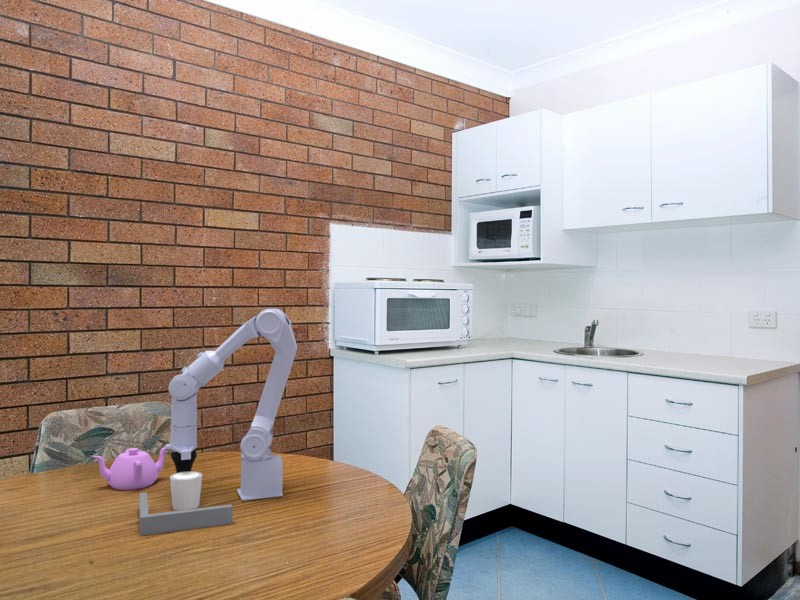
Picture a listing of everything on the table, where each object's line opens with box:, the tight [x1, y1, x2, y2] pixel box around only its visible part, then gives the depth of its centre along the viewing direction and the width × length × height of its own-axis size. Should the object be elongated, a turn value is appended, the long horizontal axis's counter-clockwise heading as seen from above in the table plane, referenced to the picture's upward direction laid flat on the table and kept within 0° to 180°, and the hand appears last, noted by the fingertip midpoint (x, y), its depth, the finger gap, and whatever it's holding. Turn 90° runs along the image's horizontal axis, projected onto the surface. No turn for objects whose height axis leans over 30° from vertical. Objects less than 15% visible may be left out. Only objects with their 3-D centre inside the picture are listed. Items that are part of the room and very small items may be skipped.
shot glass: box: [169, 470, 203, 511], centre depth 136 cm, size 7×7×7 cm
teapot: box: [92, 446, 168, 491], centre depth 151 cm, size 12×14×9 cm
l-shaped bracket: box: [138, 492, 234, 537], centre depth 130 cm, size 18×16×4 cm
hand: (183, 483), depth 143 cm, fingers closed
